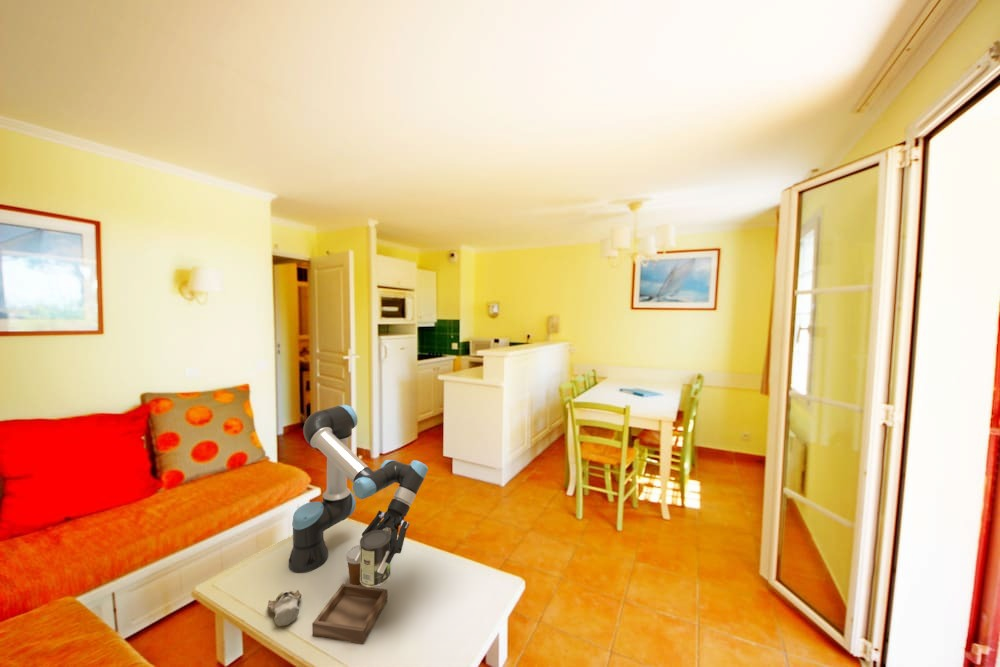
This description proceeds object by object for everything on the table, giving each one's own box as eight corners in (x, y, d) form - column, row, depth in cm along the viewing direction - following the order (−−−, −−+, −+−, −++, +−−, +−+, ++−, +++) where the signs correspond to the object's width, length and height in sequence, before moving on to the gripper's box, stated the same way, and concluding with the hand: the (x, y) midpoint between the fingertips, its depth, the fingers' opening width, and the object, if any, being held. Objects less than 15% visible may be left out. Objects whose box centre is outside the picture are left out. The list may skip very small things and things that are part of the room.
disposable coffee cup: (362, 590, 142) (362, 561, 141) (340, 586, 143) (340, 557, 143) (375, 573, 151) (375, 545, 150) (355, 569, 153) (354, 542, 152)
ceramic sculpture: (269, 611, 121) (266, 585, 133) (269, 637, 121) (266, 609, 133) (305, 597, 127) (299, 574, 139) (305, 622, 127) (299, 596, 139)
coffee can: (392, 564, 134) (392, 528, 133) (388, 586, 124) (389, 547, 123) (362, 567, 133) (362, 530, 131) (356, 589, 123) (357, 549, 121)
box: (342, 594, 139) (342, 583, 139) (387, 600, 137) (387, 589, 137) (312, 636, 122) (312, 623, 121) (363, 644, 119) (363, 631, 119)
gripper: (429, 514, 135) (398, 582, 123) (384, 497, 146) (352, 558, 133) (420, 507, 130) (387, 577, 118) (374, 490, 141) (339, 552, 128)
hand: (368, 567), depth 125 cm, fingers closed on coffee can, 10 cm apart
